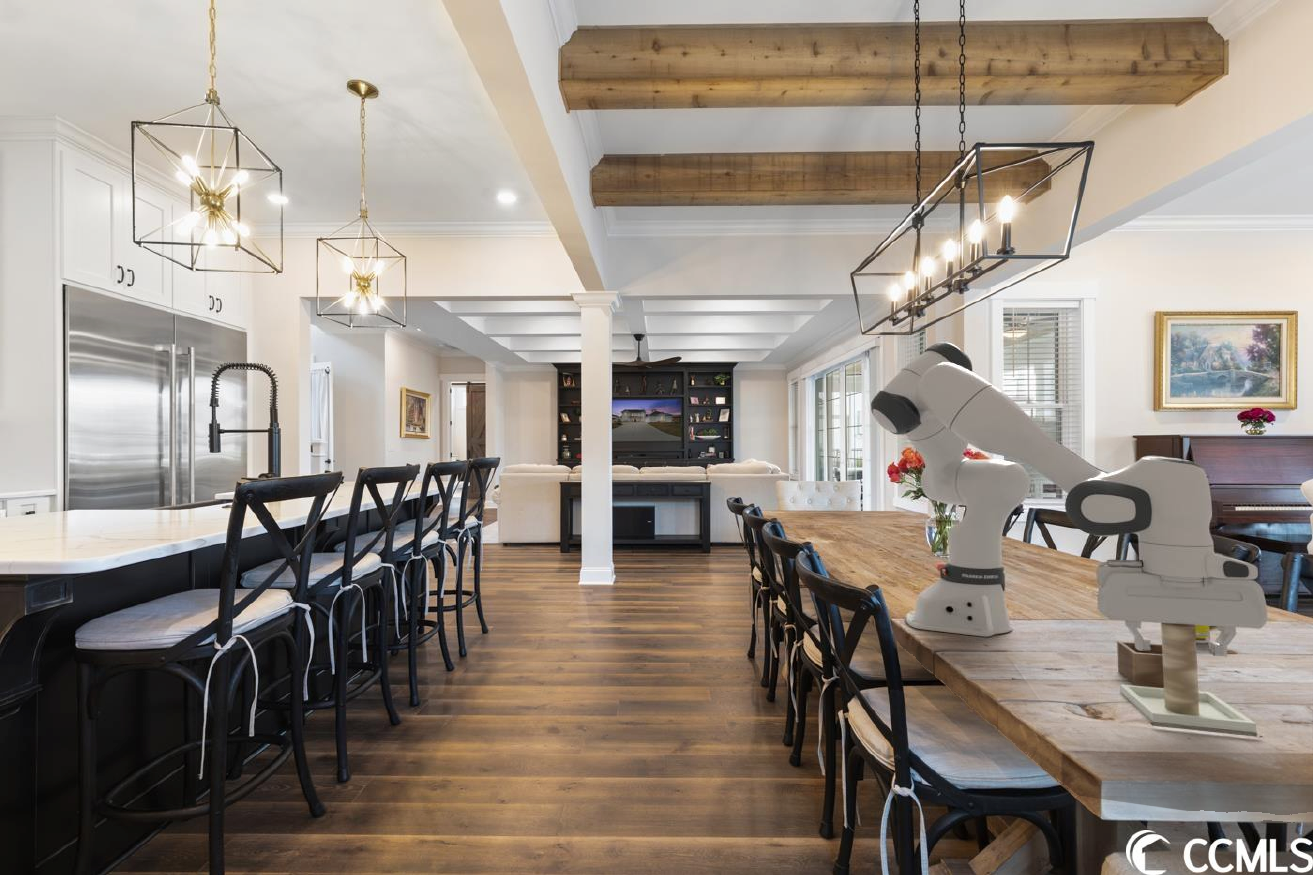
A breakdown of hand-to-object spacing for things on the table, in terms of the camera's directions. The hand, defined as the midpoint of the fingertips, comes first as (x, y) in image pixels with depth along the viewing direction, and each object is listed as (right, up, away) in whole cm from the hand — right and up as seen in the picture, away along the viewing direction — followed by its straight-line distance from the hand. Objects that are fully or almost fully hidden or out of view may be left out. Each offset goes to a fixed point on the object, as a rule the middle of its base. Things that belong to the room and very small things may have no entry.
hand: (1179, 652), depth 93 cm
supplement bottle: (+34, -10, +36) cm, 51 cm away
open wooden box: (+5, -10, +12) cm, 16 cm away
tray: (0, -9, 0) cm, 9 cm away
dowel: (0, -9, 0) cm, 9 cm away
